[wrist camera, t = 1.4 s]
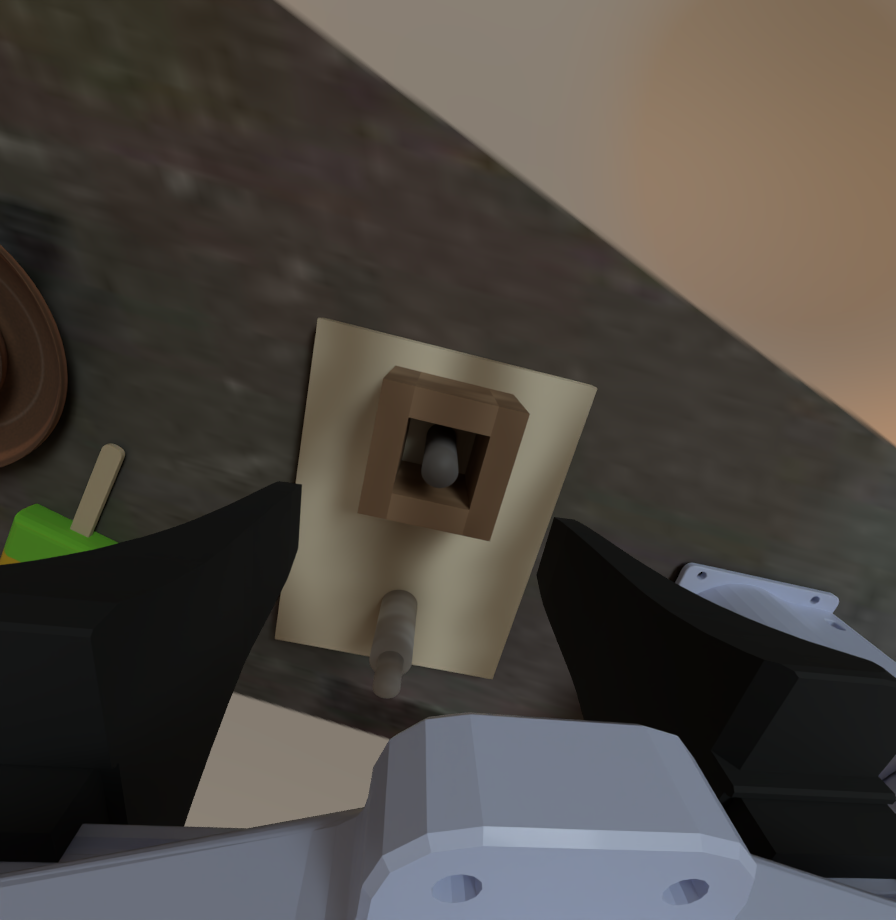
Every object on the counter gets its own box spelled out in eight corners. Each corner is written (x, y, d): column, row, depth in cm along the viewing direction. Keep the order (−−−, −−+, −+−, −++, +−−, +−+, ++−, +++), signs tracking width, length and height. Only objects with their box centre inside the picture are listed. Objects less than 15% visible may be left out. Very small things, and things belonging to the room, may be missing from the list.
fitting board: (590, 384, 20) (653, 415, 14) (490, 666, 26) (504, 774, 20) (324, 317, 19) (267, 319, 13) (281, 626, 25) (227, 728, 19)
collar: (513, 394, 20) (530, 413, 16) (482, 501, 21) (489, 541, 18) (395, 365, 19) (383, 378, 15) (373, 476, 21) (357, 513, 17)
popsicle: (0, 617, 25) (-34, 641, 24) (75, 412, 21) (41, 421, 19) (92, 655, 26) (66, 681, 25) (180, 467, 22) (157, 481, 20)
